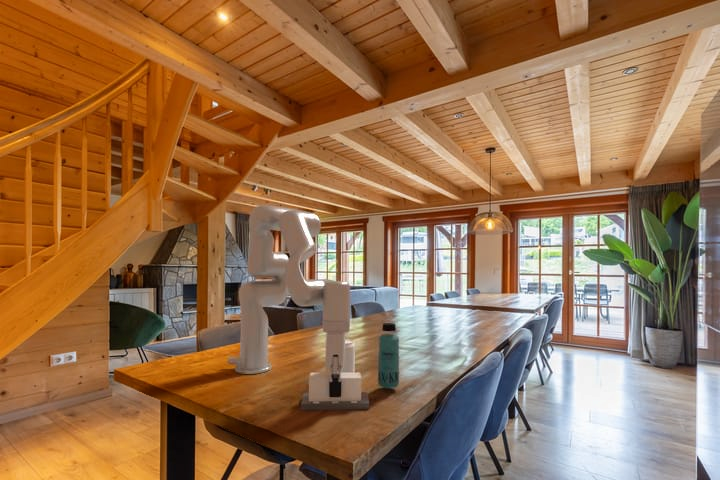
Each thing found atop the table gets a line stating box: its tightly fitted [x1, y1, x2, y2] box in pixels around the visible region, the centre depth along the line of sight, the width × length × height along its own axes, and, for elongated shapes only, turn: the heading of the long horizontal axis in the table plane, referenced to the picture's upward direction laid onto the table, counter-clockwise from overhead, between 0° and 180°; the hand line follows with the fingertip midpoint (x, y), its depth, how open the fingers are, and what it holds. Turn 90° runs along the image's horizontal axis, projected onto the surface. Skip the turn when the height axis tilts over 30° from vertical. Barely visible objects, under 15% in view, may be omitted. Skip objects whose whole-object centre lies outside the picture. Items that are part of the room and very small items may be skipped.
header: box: [300, 391, 370, 411], centre depth 97 cm, size 18×8×6 cm, turn 93°
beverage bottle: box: [377, 322, 400, 389], centre depth 108 cm, size 6×7×20 cm
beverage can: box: [341, 338, 356, 373], centre depth 119 cm, size 8×8×12 cm
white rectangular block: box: [308, 371, 362, 402], centre depth 97 cm, size 14×5×6 cm, turn 93°
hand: (335, 391), depth 97 cm, fingers open, 6 cm apart
